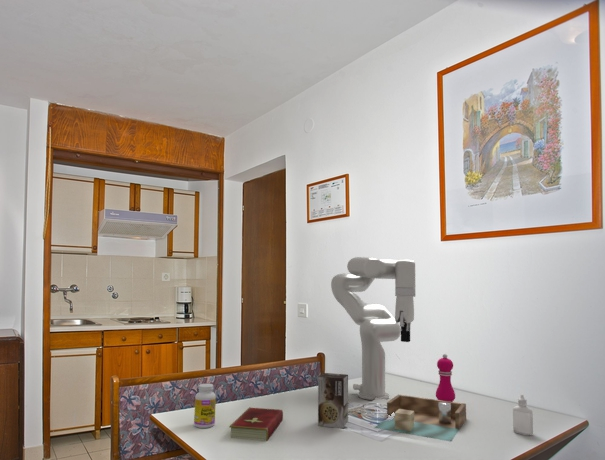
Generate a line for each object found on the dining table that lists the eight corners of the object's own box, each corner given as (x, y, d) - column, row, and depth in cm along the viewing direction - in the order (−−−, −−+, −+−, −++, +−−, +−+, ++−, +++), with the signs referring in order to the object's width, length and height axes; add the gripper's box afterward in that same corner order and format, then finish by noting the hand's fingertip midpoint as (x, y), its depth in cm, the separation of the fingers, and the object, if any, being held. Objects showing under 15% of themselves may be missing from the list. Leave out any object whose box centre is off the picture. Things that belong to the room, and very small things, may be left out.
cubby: (374, 430, 151) (374, 411, 152) (398, 411, 174) (398, 394, 174) (451, 444, 140) (450, 423, 140) (466, 421, 162) (465, 403, 163)
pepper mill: (453, 405, 183) (452, 352, 185) (457, 410, 176) (456, 355, 178) (434, 404, 184) (433, 352, 186) (437, 409, 177) (437, 355, 179)
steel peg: (439, 423, 156) (439, 404, 157) (437, 420, 160) (437, 401, 161) (452, 423, 156) (451, 404, 157) (450, 420, 160) (449, 402, 161)
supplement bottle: (198, 430, 149) (199, 388, 150) (191, 424, 155) (192, 384, 156) (218, 426, 153) (219, 386, 154) (210, 421, 158) (211, 382, 159)
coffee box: (348, 423, 158) (349, 374, 160) (344, 429, 152) (344, 378, 154) (322, 420, 161) (323, 372, 163) (317, 426, 155) (317, 375, 157)
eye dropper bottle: (525, 436, 148) (524, 397, 149) (511, 431, 153) (510, 393, 154) (535, 435, 149) (534, 396, 151) (521, 429, 155) (519, 392, 156)
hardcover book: (282, 421, 161) (283, 408, 161) (267, 442, 140) (267, 428, 141) (249, 419, 163) (249, 406, 163) (229, 439, 142) (229, 425, 143)
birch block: (394, 428, 150) (394, 412, 151) (399, 424, 155) (398, 408, 155) (410, 431, 148) (410, 414, 149) (414, 426, 153) (414, 410, 153)
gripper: (401, 291, 188) (401, 338, 186) (389, 292, 175) (389, 343, 173) (420, 292, 184) (420, 340, 183) (409, 293, 171) (409, 344, 170)
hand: (405, 341), depth 178 cm, fingers closed
